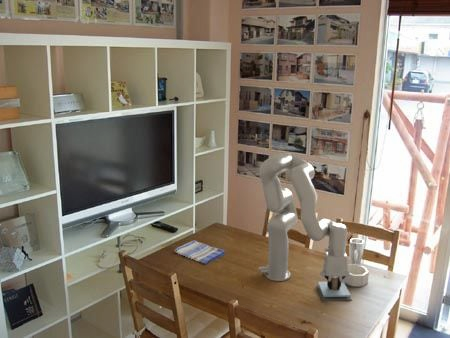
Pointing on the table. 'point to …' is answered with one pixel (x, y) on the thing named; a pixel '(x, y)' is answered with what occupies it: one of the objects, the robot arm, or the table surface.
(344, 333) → the table surface
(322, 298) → the mat
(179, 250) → the dish towel
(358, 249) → the beer glass
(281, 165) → the robot arm
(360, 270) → the bowl
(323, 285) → the cover
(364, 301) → the table surface
